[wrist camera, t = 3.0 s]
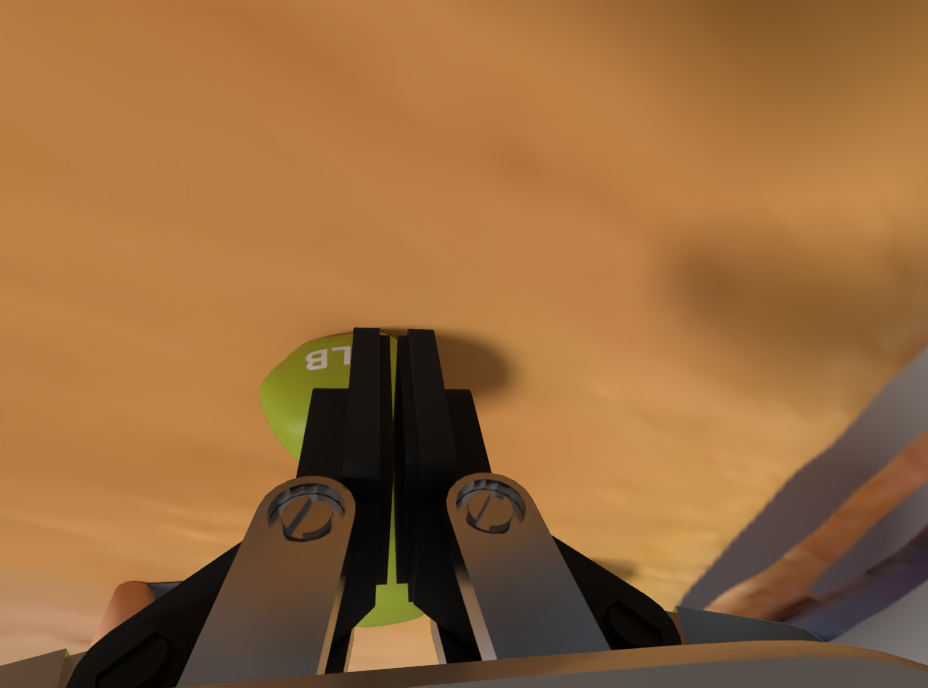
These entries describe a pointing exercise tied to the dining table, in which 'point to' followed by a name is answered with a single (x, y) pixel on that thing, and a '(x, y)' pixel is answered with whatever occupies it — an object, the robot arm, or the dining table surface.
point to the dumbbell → (287, 417)
